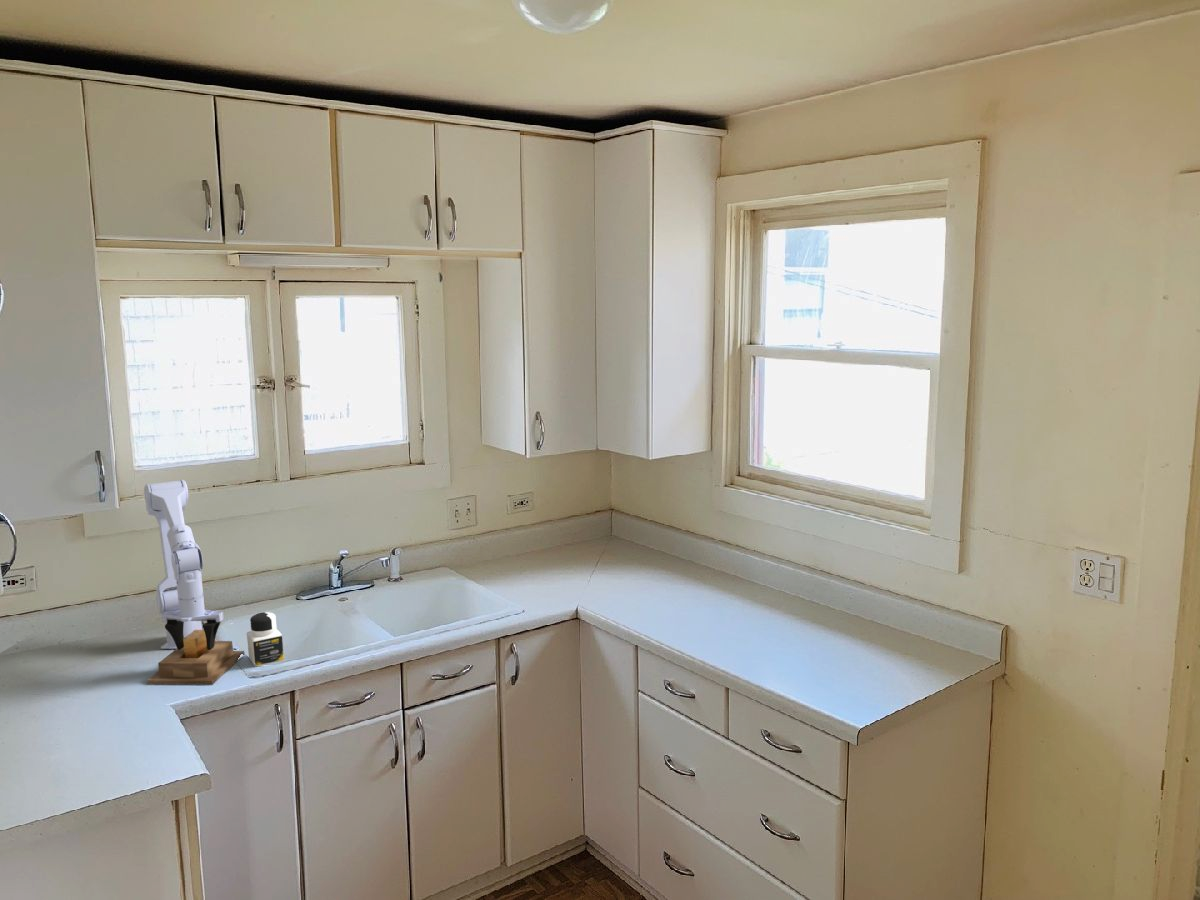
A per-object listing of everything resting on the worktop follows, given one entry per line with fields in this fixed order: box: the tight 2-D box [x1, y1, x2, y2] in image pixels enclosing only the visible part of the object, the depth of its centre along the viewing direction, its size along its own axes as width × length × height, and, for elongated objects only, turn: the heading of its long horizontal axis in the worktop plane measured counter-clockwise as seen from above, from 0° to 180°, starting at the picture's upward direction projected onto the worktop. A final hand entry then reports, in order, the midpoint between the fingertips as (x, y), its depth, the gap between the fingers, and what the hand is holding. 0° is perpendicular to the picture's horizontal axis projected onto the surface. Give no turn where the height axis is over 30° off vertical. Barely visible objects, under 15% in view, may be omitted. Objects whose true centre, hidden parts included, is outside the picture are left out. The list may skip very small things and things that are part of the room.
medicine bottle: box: [246, 611, 285, 668], centre depth 232 cm, size 7×7×12 cm
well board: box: [146, 640, 246, 686], centre depth 227 cm, size 18×16×4 cm
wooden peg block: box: [183, 629, 208, 658], centre depth 227 cm, size 6×3×8 cm, turn 177°
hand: (195, 648), depth 227 cm, fingers open, 7 cm apart
